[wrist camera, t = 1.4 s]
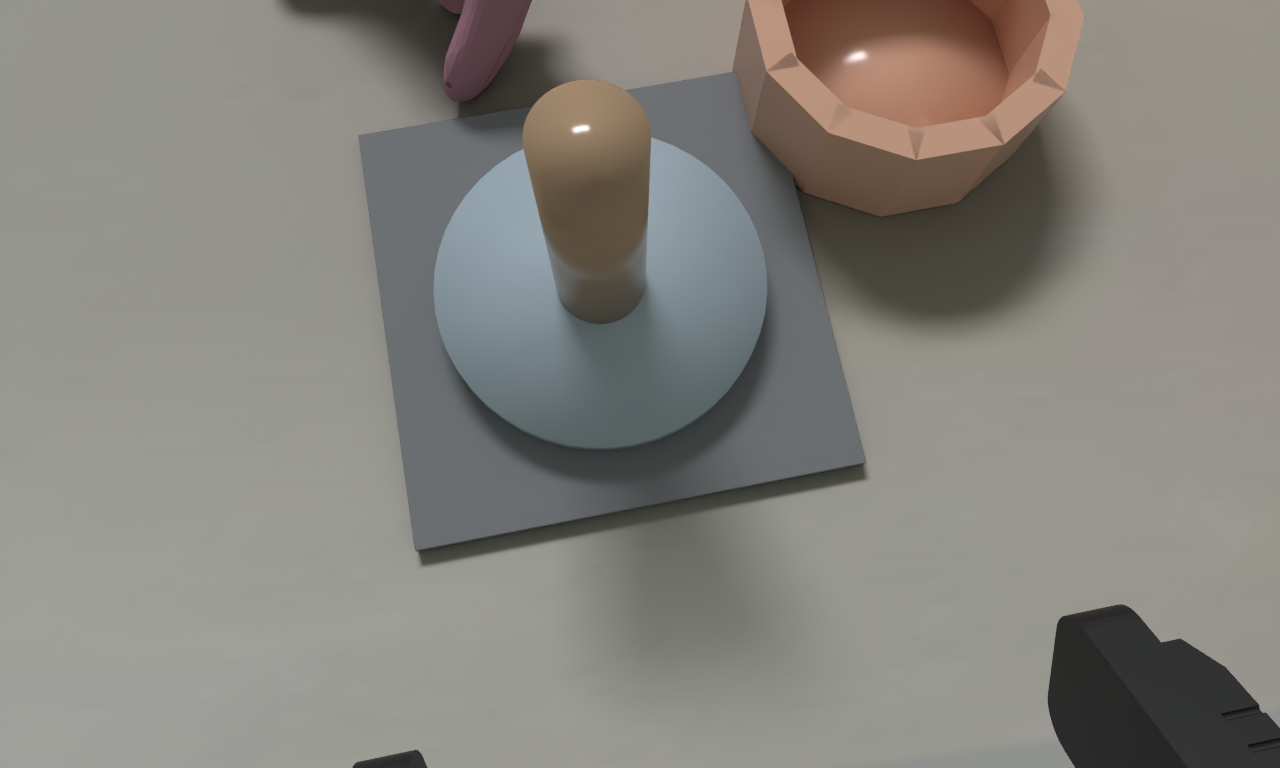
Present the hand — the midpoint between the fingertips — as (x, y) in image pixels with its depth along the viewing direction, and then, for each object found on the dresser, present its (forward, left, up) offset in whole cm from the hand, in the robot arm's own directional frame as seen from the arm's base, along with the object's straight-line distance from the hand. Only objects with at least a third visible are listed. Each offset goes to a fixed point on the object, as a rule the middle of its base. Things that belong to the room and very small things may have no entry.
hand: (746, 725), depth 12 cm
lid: (0, +12, -16) cm, 20 cm away
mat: (0, +12, -16) cm, 20 cm away
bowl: (+11, +18, -16) cm, 26 cm away
